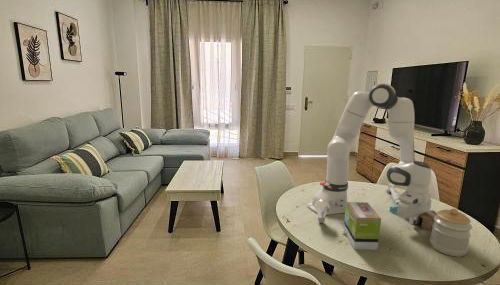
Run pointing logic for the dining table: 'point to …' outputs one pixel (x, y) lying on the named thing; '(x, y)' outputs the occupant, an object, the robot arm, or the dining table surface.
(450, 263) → the dining table surface
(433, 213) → the axle
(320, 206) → the light bulb
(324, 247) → the dining table surface
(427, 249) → the dining table surface
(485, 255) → the dining table surface
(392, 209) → the u channel
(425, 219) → the bearing block
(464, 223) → the jar
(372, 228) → the tea box
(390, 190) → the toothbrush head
